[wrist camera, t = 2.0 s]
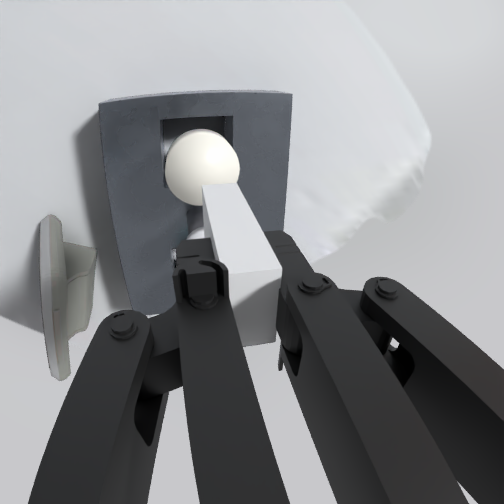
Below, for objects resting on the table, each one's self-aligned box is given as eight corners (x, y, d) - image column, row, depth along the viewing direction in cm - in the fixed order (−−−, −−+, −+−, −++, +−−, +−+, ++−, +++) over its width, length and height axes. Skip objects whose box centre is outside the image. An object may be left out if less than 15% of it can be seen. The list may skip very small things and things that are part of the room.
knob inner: (169, 177, 27) (167, 208, 21) (166, 122, 25) (162, 137, 19) (224, 173, 28) (239, 203, 22) (224, 119, 26) (240, 133, 20)
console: (137, 288, 37) (134, 316, 32) (110, 99, 25) (98, 103, 21) (265, 275, 40) (277, 300, 36) (275, 90, 28) (292, 93, 24)
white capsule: (184, 233, 29) (187, 269, 24) (182, 202, 27) (184, 234, 22) (216, 230, 29) (226, 265, 24) (215, 200, 28) (226, 231, 23)
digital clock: (48, 203, 29) (8, 254, 20) (119, 232, 33) (103, 293, 24) (27, 307, 34) (4, 366, 25) (85, 329, 38) (73, 392, 29)
